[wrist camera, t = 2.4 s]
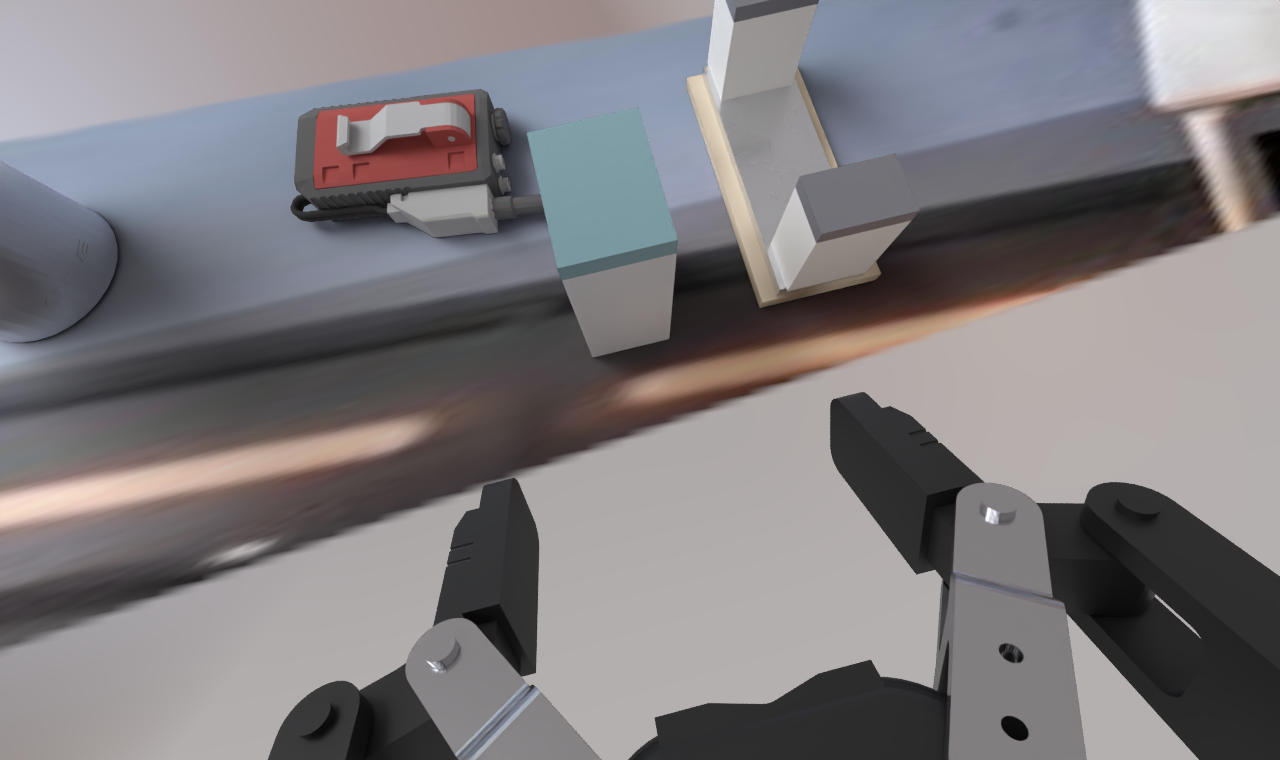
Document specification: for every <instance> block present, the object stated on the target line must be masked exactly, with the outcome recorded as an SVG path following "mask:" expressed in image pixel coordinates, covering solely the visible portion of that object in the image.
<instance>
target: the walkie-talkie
mask: <svg viewBox="0 0 1280 760" xmlns="http://www.w3.org/2000/svg"><path fill="white" fill-rule="evenodd" d="M510 142H511V134H510V128H509V123H508V119H507V116H506V113H505V111H504V110H503V109H502V108H496V109H495V110H494V107H493V104H492V102H491V99H490V97H489V94H488V92H486V91H484V90H482V89H477V90H469V91H460V92H451V93H442V94H434V95H425V96H416V97H410V98H405V99H404V98H401V99H397V100H396V99H392V100H384V101H379V102H378V101H375V102H370V103H369V102H366V103H361V104H360V103H357V104H353V105H351V104H348V105H339V106H335V107H334V106H331V107H326V108H325V107H322V108H317V109H316V108H314V109H312V110H311V111H309V112H307V113H305V114H304V115H302V116H301V117H299V120H298V130H297V145H296V160H295V174H294V182H295V186H296V190H297V191H298V192H299V193H300V194H301V195H299V196H297V197H296V198H295V199H294V200H293V202H292V205H291V211H292V213H293V214H294V215H295V216H297V217H298V218H299V219H300V220H303V221H308V222H315V221H324V220H332V221H333V222H335V220H340V221H343V220H344V219H349V220H352V218H358V219H361V217H366V218H369V217H370V216H375V217H378V215H380V216H383V217H386V218H392V219H393V220H394V221H395V222H396V223H402V222H407V223H409V224H411V225H413V226H414V227H416V228H418V229H420V230H422V231H424V232H425V233H427V234H429V235H431V236H433V237H445V236H454V235H463V234H472V233H481V232H483V233H485V234H491V233H498V220H505V219H514V218H516V217H517V215H526V214H535V213H545V212H544V207H543V203H542V199H541V195H533V196H524V197H515V198H514V197H512V196H503V195H504V194H505V192H510V191H511V186H510V181H509V180H508V177H507V178H502V173H501V170H504V169H505V162H504V158H502V155H501V153H500V143H501V144H502V145H503V146H506V145H509V144H510ZM309 204H313V205H314V206H315V207H316V208H317V209H318V211H310V212H303V209H304V207H305V206H307V205H309Z"/></svg>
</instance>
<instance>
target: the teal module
mask: <svg viewBox="0 0 1280 760" xmlns="http://www.w3.org/2000/svg"><path fill="white" fill-rule="evenodd" d="M527 137H528V141H529V145H530V150H531V154H532V159H533V163H534V168H535V172H536V176H537V181H538V185H539V190H540V194H541V199H542V203H543V207H544V212H545V216H546V221H547V225H548V230H549V234H550V238H551V243H552V247H553V252H554V256H555V261H556V265H557V269H558V272H559V274H560V277H561V279H562V282H563V284H564V287H565V289H566V292H567V294H568V297H569V299H570V302H571V304H572V307H573V309H574V312H575V314H576V317H577V319H578V322H579V324H580V327H581V329H582V332H583V335H584V337H585V340H586V342H587V345H588V347H589V350H590V352H591V355H592V357H597V356H601V355H606V354H610V353H614V352H618V351H622V350H626V349H630V348H634V347H638V346H642V345H647V344H651V343H655V342H659V341H663V340H667V339H669V336H670V325H671V313H672V301H673V289H674V278H675V266H676V254H677V242H678V239H677V236H676V232H675V229H674V226H673V222H672V219H671V216H670V212H669V209H668V205H667V202H666V199H665V195H664V192H663V189H662V185H661V182H660V178H659V175H658V172H657V168H656V165H655V162H654V158H653V155H652V152H651V148H650V145H649V141H648V138H647V135H646V131H645V128H644V125H643V121H642V118H641V114H640V111H639V108H634V109H629V110H625V111H620V112H616V113H611V114H607V115H603V116H598V117H594V118H589V119H585V120H581V121H576V122H572V123H567V124H563V125H559V126H554V127H550V128H545V129H541V130H537V131H532V132H528V133H527Z"/></svg>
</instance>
